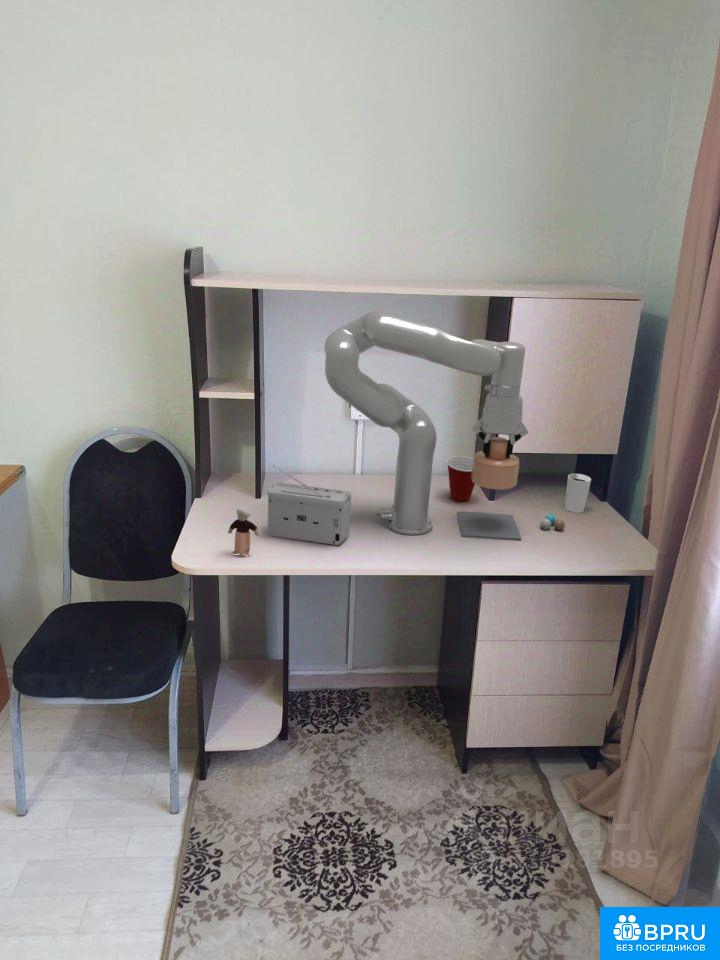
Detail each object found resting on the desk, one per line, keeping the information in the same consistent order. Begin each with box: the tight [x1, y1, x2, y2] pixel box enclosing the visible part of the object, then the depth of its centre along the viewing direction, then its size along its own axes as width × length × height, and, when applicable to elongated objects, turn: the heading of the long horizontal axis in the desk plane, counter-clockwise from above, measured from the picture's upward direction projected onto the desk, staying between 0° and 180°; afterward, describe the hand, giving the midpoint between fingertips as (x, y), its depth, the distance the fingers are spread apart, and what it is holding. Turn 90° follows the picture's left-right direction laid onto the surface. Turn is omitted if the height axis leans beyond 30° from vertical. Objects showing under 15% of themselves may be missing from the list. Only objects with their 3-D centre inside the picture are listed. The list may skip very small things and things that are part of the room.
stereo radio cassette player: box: [267, 464, 352, 546], centre depth 188 cm, size 21×8×20 cm, turn 78°
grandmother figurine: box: [227, 506, 260, 555], centre depth 178 cm, size 8×4×13 cm, turn 95°
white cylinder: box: [564, 473, 592, 514], centre depth 217 cm, size 7×7×10 cm
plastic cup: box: [446, 455, 476, 503], centre depth 219 cm, size 11×11×12 cm
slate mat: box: [456, 510, 522, 541], centre depth 203 cm, size 16×16×1 cm
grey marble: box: [539, 517, 552, 530], centre depth 203 cm, size 3×3×3 cm
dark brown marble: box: [553, 519, 566, 531], centre depth 203 cm, size 3×3×3 cm
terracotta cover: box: [471, 436, 520, 491], centre depth 197 cm, size 12×12×12 cm
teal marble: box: [544, 513, 557, 526], centre depth 207 cm, size 3×3×3 cm
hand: (496, 455), depth 196 cm, fingers closed on terracotta cover, 5 cm apart
